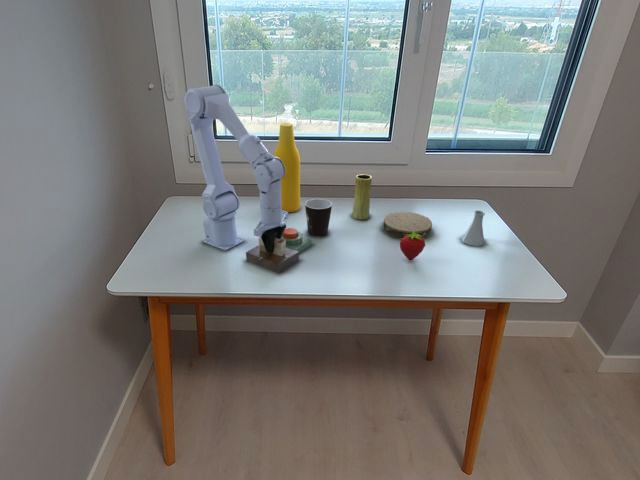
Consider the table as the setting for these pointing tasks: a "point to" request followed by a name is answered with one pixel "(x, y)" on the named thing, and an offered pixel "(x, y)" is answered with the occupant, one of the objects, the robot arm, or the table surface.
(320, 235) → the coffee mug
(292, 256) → the switch base
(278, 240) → the cream rectangular block
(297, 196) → the beer bottle
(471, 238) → the flask
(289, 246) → the button box
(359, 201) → the vase
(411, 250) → the strawberry
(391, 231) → the cork coaster disc
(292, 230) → the button
